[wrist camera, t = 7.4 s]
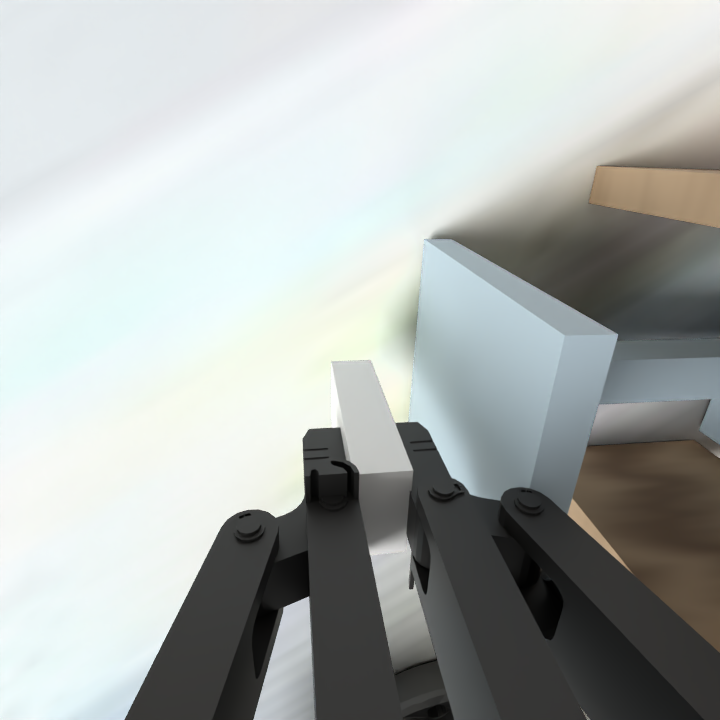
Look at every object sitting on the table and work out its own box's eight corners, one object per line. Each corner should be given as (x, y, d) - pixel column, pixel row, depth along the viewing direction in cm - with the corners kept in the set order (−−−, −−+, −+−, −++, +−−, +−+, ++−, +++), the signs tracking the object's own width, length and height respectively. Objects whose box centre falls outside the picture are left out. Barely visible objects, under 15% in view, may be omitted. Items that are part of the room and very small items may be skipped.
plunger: (406, 447, 24) (489, 662, 14) (425, 226, 19) (570, 312, 9) (717, 429, 26) (976, 601, 16) (800, 230, 22) (1231, 301, 12)
